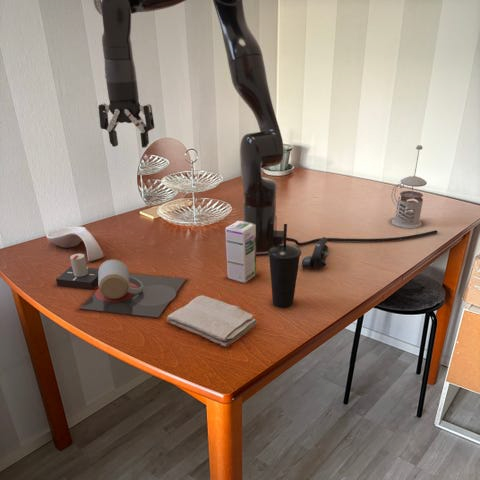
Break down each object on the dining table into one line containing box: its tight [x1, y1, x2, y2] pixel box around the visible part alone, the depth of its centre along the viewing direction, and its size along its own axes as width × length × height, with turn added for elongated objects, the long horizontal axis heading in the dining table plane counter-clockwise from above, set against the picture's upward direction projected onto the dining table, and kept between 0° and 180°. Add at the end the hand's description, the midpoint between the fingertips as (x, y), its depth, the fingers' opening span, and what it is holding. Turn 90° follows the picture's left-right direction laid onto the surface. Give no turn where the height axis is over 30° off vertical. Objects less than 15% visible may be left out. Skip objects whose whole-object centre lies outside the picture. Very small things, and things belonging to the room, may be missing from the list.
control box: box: [55, 265, 99, 290], centre depth 130 cm, size 10×8×2 cm
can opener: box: [301, 236, 329, 269], centre depth 139 cm, size 18×7×6 cm, turn 160°
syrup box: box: [224, 220, 257, 284], centre depth 128 cm, size 6×6×14 cm
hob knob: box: [69, 253, 88, 277], centre depth 128 cm, size 4×4×5 cm
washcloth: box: [166, 295, 258, 348], centre depth 110 cm, size 12×18×3 cm, turn 54°
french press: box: [391, 144, 428, 229], centre depth 158 cm, size 10×12×25 cm
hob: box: [79, 273, 187, 319], centre depth 124 cm, size 21×20×1 cm
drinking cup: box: [267, 223, 302, 309], centre depth 114 cm, size 8×8×20 cm
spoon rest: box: [45, 225, 104, 262], centre depth 147 cm, size 24×12×7 cm, turn 44°
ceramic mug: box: [97, 259, 143, 299], centre depth 122 cm, size 11×8×8 cm
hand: (129, 146), depth 132 cm, fingers open, 8 cm apart
